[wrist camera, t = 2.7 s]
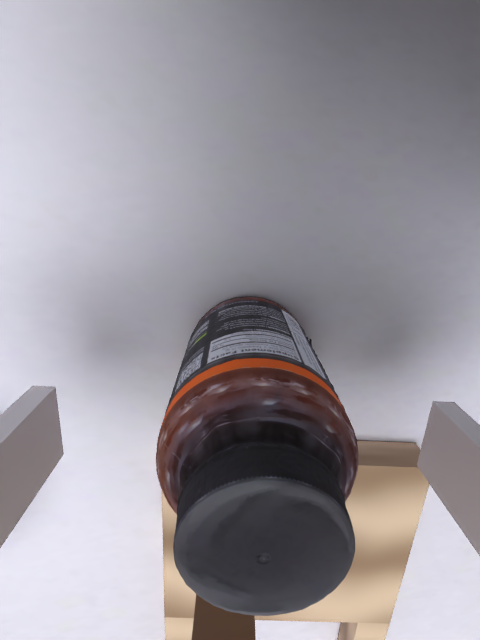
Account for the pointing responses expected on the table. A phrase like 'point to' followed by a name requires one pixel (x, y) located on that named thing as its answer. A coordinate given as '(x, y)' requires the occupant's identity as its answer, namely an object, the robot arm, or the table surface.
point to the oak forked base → (369, 559)
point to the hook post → (220, 623)
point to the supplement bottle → (257, 464)
